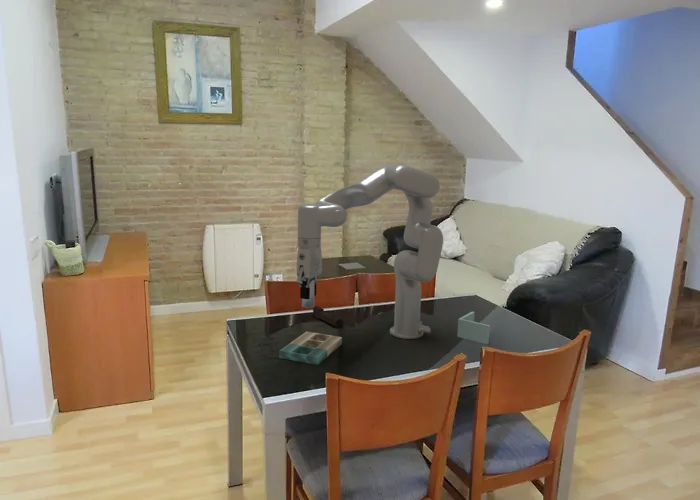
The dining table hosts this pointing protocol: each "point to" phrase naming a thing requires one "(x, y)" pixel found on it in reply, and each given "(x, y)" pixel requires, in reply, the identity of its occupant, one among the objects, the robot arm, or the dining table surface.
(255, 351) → the dining table surface
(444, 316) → the dining table surface
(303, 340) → the hole board
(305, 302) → the peg
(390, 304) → the dining table surface
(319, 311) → the hand tool
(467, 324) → the right angle wall
